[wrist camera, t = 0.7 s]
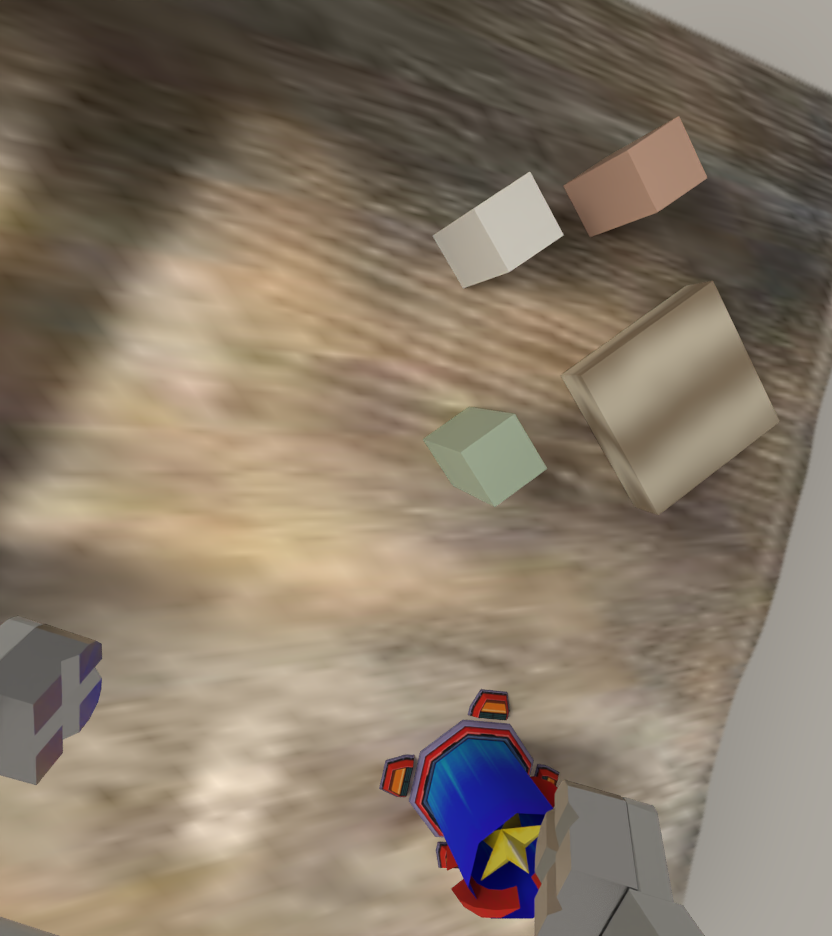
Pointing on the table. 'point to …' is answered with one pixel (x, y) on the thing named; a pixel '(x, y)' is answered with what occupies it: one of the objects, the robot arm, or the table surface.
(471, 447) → the sage pillar
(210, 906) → the table surface
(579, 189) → the terracotta pillar
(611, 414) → the birch plinth
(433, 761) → the fantasy tower
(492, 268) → the off-white pillar
